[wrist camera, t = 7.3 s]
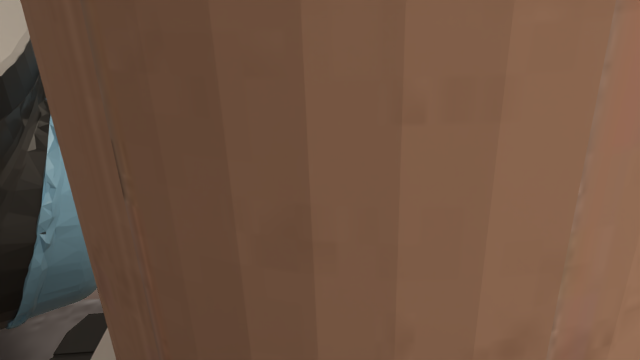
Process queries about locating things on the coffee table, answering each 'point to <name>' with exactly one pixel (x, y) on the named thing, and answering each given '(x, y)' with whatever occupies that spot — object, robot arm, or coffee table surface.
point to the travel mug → (353, 174)
